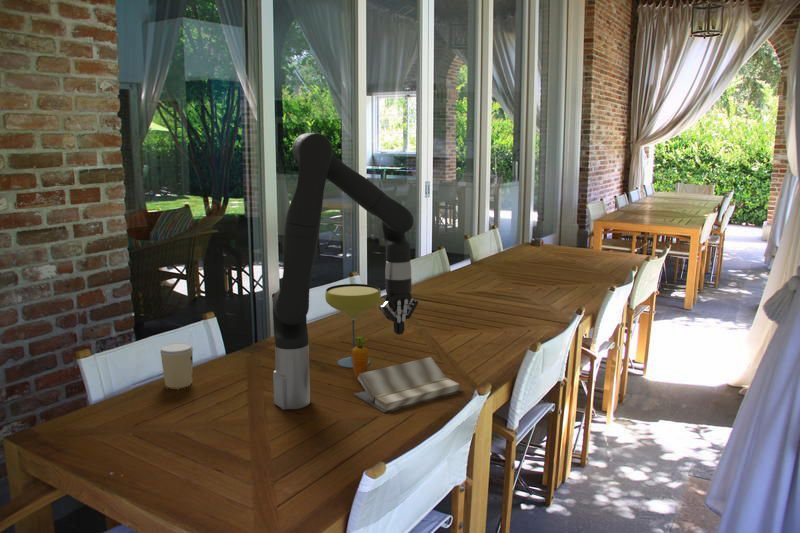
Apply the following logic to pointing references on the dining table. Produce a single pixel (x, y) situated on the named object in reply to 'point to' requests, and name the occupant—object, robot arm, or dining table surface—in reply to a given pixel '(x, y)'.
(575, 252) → the dining table surface
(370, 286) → the cocktail glass
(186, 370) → the coffee cup
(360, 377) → the board
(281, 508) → the dining table surface
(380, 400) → the floor base
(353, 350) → the carrot
